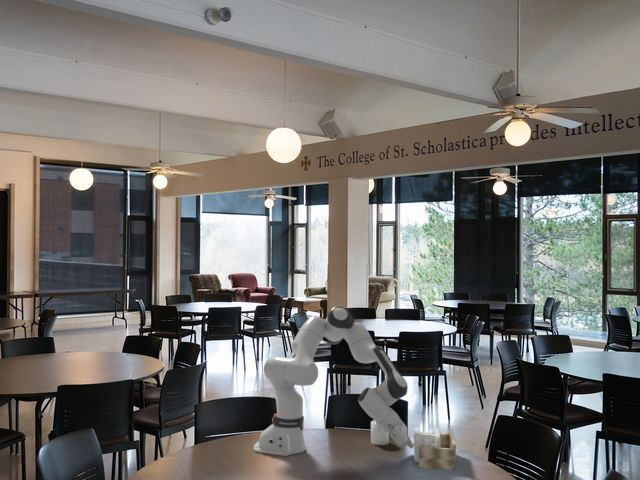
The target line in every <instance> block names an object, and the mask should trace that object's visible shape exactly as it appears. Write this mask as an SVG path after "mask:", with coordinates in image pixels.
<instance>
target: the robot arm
mask: <svg viewBox="0 0 640 480" xmlns="http://www.w3.org/2000/svg"><path fill="white" fill-rule="evenodd" d="M343 340H345V342H346V343H347V344H348V347H349V350H350V352H351V355H352V356H353V357H352V358H353V359H354V360H355V361H357V362H358V363H361V364H371V363H375V362H377V363H378V365H379V367H380V368H381V370H382V372H383V373H384V374H385V379H384V380H383V381H382V382H381V383H380V384H378V385H377V386H374V387H372V388H370V387H369V386H368V387H366V388H364V389H363V390H362V392H361V393H360V394H359V396H358V398H357V401H358V403H359V406H360V407H361V409H362V410H364V412H365V413H366V414H367V415H368V416H369V417H370V418H372V419H373V420H375V422H376V424H377V425H378V426H379V427H380V428H381V429H382V430H383V431H384V432H387V431H388V432H389V437H390V438H391V439H392V440H393V441H394V442H395V443H396V445H397V446H399V447H400V448H403V447H405V445H406V446H408V448H409V449H412V448H413V449H414V441H412V439H411V438H410V436H409V435H408V427H407V425H406V424H405V422H403V420H402V419H401V418H400V416H399V415H398V413H397V412H396V411H395V410H394V409H393V408H391V407H390V406H392V405H393V404H394V403H395V402H397V401H399V400H400V399H401V398H403V397H405V396H407V393H408V390H409V389H408V387H409V385H408V383H407V381H406V379H405V377H404V376H402V374H401V373H400V372H399V370H398V369H397V368H396V366H395V364H394V362H393V361H392V360H391V358H390V357H389V355H388V353H387V352H386V351H385V349H383V348H382V346H380V345H376V344H375V342H374V340H373V338H372V336H371V334H370V333H369V331H368V329H367V328H366V327H365V325H364V324H363V323H360V322H355V317H354V316H353V315H352V314H351V313H350V312H349V310H348V309H347V308H345V307H344V306H339V305H337V306H334V307H332V308H331V309H330V310H329V312H328V313H327V315H326V318H321V317H320V316H315V315H314V316H310V317H309V318H308V319H306V321H304V323H303V324H302V326H301V327H300V329H299V330H298V332H297V334H296V336H295V337H294V338H293V341H291V342H292V343H291V350H292V351H291V352H292V353H293V354H294V355H295V356H294V357H284V356H273V357H269V358H268V359H266V361H265V363H264V365H263V374H264V377H265V378H266V379H267V380H268V381H269V382H270V384H271V386H272V388H273V390H274V393H275V396H276V411H277V413H274V415H273V417H272V420H271V422H272V423H271V424H270V425H269V426H268V427H267V428H266V429H264V430H263V431H262V432H261V434H260V436H259V440H258V441H257V442H256V443H255V444H254V445H253V452H255V453H261V454H268V455H276V456H282V457H287V456H290V455H291V456H292V455H296V454H301V453H304V451H306V449H307V446H306V444H305V443H306V442H305V437H304V428H305V418H304V415H303V413H304V399H303V397H302V395H301V394H300V393H299V392H298V391H297V390H296V388H295V386H300V387H303V386H304V387H305V386H306V387H307V386H313V385H314V384H315V383H316V381H317V380H318V378H319V369H318V368H319V367H318V365H317V364H316V363H315V359H314V357H315V354H316V352H317V350H318V348H319V346H320V344H321V343H322V342H325V343H327V344H329V345H338V344H339V343H341V342H342V341H343Z"/></svg>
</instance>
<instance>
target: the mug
mask: <svg viewBox="0 0 640 480" xmlns="http://www.w3.org/2000/svg"><path fill="white" fill-rule="evenodd" d="M389 437H390V434H389V432H388V431H387V432H384V431H383V430H382V429H381V428H380V427H379V426H378V425H377V424H376V422H375V420H374V419H373V420H372V421H370V443H371V444H372V445H374V446H375V445H376V446H387V445H389V444H390V438H389Z"/></svg>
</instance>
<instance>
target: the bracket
mask: <svg viewBox="0 0 640 480" xmlns="http://www.w3.org/2000/svg"><path fill="white" fill-rule="evenodd" d="M453 431H454V430H453V429H451V428H450V429H449V431H448V433H440V432H439V433H440V448H435V447H419V463H418V468H419V469H420V468H422V469H431V470H432V469H434V470H448V471H456V467H457V466H456V464H457V463H456V458H457V455H456V454H457V453H456V451H457V450H456V449H457V447H456V446H457V444H456V439H455V436H454V432H453ZM420 433H425V434H435V432H421V431H420Z"/></svg>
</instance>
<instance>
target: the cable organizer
mask: <svg viewBox="0 0 640 480" xmlns="http://www.w3.org/2000/svg"><path fill="white" fill-rule="evenodd" d="M420 432H421V429H420V427H414V428H413V443H414V447H413V450H414V451H413V453H414V454H413V455H414V463H418V464H419V447H435V448H440V429H439V428H438V427H435V428H434V433H435V434H425V433H426V432H424V433H420Z"/></svg>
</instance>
